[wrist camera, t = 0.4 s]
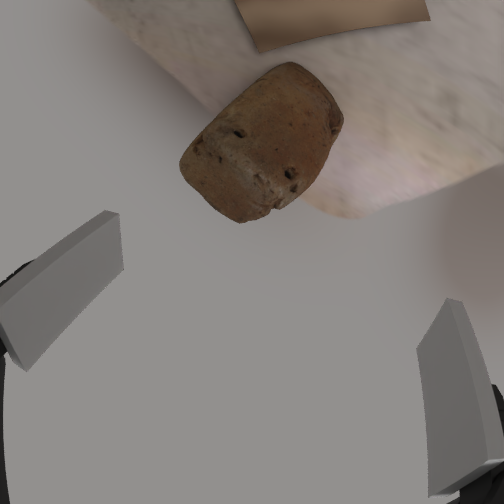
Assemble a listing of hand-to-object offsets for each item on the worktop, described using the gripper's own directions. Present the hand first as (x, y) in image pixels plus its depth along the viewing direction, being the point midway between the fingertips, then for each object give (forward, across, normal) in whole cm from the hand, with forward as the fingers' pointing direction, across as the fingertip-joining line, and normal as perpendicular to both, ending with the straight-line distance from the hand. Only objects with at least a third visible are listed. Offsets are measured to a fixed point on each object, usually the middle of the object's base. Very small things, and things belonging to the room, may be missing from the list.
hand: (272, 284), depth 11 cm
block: (+31, -3, +5) cm, 32 cm away
